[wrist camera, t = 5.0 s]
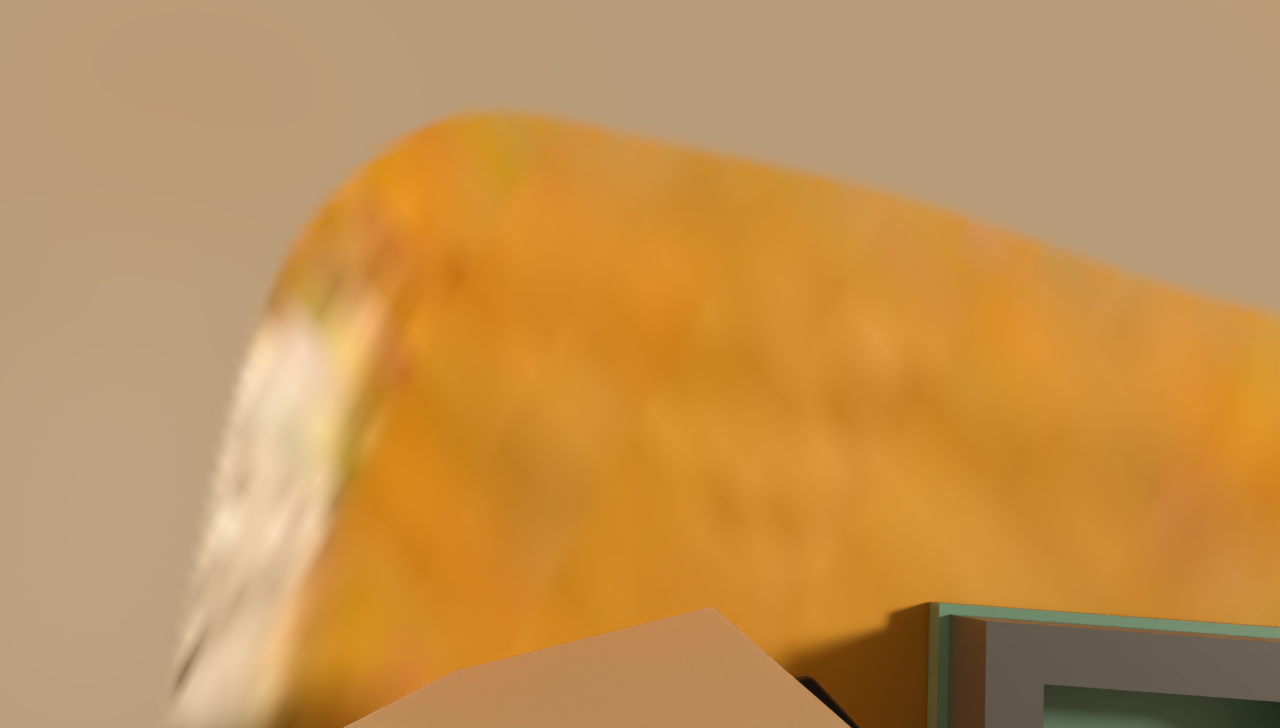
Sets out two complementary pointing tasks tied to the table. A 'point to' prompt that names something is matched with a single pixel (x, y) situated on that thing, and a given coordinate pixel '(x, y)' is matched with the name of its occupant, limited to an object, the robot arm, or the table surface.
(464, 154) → the table surface
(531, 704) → the plug
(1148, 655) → the grey and green tray
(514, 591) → the table surface
